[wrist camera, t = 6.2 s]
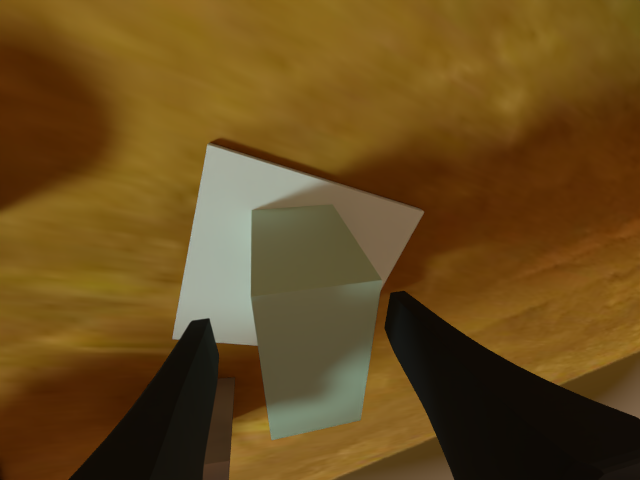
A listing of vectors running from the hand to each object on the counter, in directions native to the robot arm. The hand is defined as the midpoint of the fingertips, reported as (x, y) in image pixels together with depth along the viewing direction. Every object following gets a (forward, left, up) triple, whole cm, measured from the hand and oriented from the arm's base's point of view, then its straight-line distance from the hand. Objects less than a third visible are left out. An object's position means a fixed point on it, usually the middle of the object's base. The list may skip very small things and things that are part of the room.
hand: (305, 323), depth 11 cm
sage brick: (0, 0, -3) cm, 3 cm away
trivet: (0, 0, -3) cm, 3 cm away
